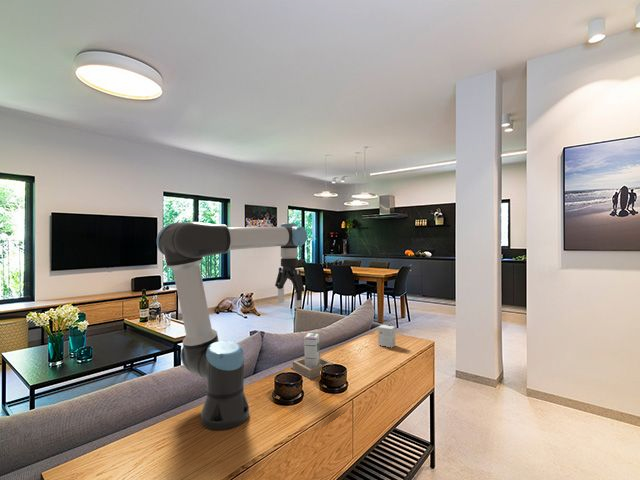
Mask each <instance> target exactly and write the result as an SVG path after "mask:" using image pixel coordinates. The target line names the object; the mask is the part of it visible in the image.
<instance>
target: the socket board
mask: <svg viewBox="0 0 640 480" xmlns="http://www.w3.org/2000/svg"><path fill="white" fill-rule="evenodd" d="M326 365H333V366H334V362H332V361H329V360H327V359H325V358H323V357H321V356H320V365H319V366H318V367H315V368H311V369H310V368H308V367H306V366H305V357H302V358H299V359H296V360H293V361H292V365H291V366H290V369H291V370H294V371H295V372H297V373H299V374H301V375H302V376H303V377H305V378H307V377H308V378H307V379H314V378H316V377H319V376H321V375H320V371H321V368H322V367H324V366H326Z"/></svg>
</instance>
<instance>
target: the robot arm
mask: <svg viewBox="0 0 640 480" xmlns="http://www.w3.org/2000/svg"><path fill="white" fill-rule="evenodd" d="M307 241H308V232H307V230H306V228H305V227H304V226H298V224H297V223H293V222H292V223H291V222H284V223H281V224H280V226H246V227H245V226H240V227H239V226H236V227H235V226H234V227H232V226H231V227H228V226H227V225H226V224H222V223H221V224H220V223H219V224H217V223H207V222H201V221H186V222H184V221H183V222H182V221H181V222H174V223H170V224H167V225H165V226H164V227H162V228H161V229H160V231H159V232H158V234H157V236H156V246H157V249H158V251H159V252H160V253H161V254H162V255H164V260H165V265H166V267H168V268H169V269H171V270H172V274H173V278H174V283H175V287H176V288H175V289H176V292H177V297H178V302H179V307H180V311H181V317H182V321H183V322H182V323H183V325H184V332H185V337H184V338H183V339H182V348H181V351H180V360H181V363H182V365H183V366H184V367H185V368H186V369H187V370H188V371H189V372H191V373H194V374H196V375H197V376H199V377H201V378H203V379H205V380H206V397H205V400H204V404H203V405H202V406H203V407H202V410H201V413H200V422H201V423H200V424H201V425H202V426H203V427H205V428H206V429H209V430H212V431H224V430H229V429H233V428H236V427H238V426H240V425H242V424H243V423H245V422H246V421H247V420H248V419H249V416H250V406H249V403H248V400H247V397H246V395H245V391H244V387H245V385H244V384H245V383H244V382H245V381H244V379H245V378H244V376H245V375H244V373H245V369H244V368H245V365H244V364H245V354H244V349H243V346H242V345H241V344H239V343H238V342H235V341H232V340H231V341H228V340H219V336H218V332H217V330H215V329H213V328H212V324H211V318H210V312H209V308H208V302H207V297H206V292H205V286H204V281H203V277H202V271H201V267H200V266H201V265H200V264H201V263H202V262H203V260H204V257H209V256H215V255H221V254H227V253H228V252H229V251H235V250H236V251H237V250H245V249H246V250H247V249H249V250H250V249H257V248H258V249H259V248H273V247H274V248H275V247H280V257H281V258H280V267H278V272H277V273H278V274H277V277H276V281H275V284H274V285H275V287H276V288H277V296H278V297H277V299H278V300H277V302H278V304H282V303H285V287H284V286H285V284H286V282H287V280H288V279H289V281H291V283H292V286H293V288H294V291H295V292H294V309H298V308H301V307H302V293H303V292H305V286H304V283H303V278H302V276H301V275H302V274H301V269H296V267H298V260H299V259H298V258H297V257H298V246H302V245H305V243H306V242H307Z"/></svg>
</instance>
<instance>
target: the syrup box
mask: <svg viewBox="0 0 640 480" xmlns="http://www.w3.org/2000/svg"><path fill="white" fill-rule="evenodd" d="M303 338H304V339H303V342H304V343H303V344H304V346H303V348H304V350H303V351H304V358H305V366H306V367H308V368H310V369H311V368H315V367H318V366H319V365H320V357H321V356H320V355H321V354H320V352H321V351H320V334H319V333H314V332H313V333H312V332H309V333H308V332H307V334H306V335H305V336H304V337H303Z"/></svg>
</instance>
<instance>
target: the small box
mask: <svg viewBox="0 0 640 480" xmlns="http://www.w3.org/2000/svg"><path fill="white" fill-rule="evenodd" d="M377 328H378V329H377V330H378V332H377V335H378V337H377V339H378V344H377V345H381V346H380V347H382V346H386V347H385V348H387V347H393V348H394V347H395V346H396V326H393V325H387V324H386V325H385V324H381V325H379V326H378V327H377Z"/></svg>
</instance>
